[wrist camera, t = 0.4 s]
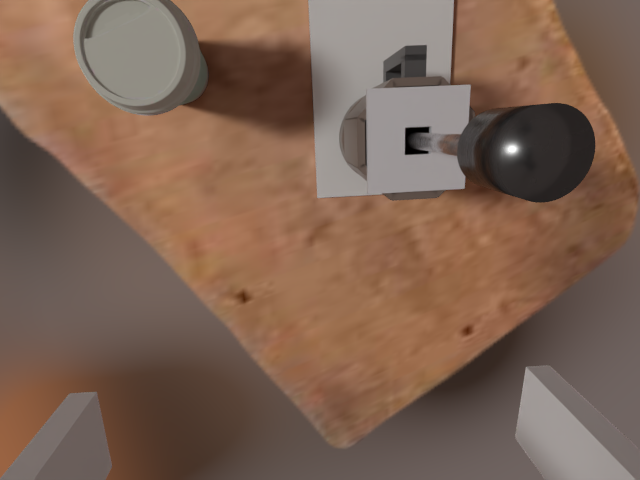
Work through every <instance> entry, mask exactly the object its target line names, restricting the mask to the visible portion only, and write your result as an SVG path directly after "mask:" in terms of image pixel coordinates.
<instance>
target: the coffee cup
mask: <svg viewBox="0 0 640 480" xmlns="http://www.w3.org/2000/svg"><path fill="white" fill-rule="evenodd" d="M74 50H75V54H76V58H77V61H78V64H79V66H80V68H81V70H82V72H83V73H84V75H85V77H86V78H87V80H88V82H89V83H90V84H91V86H92V87H93V88H94V89H95V90H96V92H97V93H98V94H99V95H101V96H102V97H103V98H104V99H105V100H107V101H108V102H110V103H111V104H113V105H114V106H116V107H118V108H120V109H122V110H124V111H127V112H130V113H133V114H138V115H158V114H162V113H165V112H168V111H170V110H172V109H174V108H176V107H177V106H179V105H183V104H186V103H190V102H192V101H194V100H196V99H197V98H199V97H200V96H201V95H202V94H203V92H204V91H205V89H206V86H207V83H208V77H209V73H208V67H207V63H206V61H205V59H204V57H203V55H202V53H201V51H200V48H199V43H198V40H197V36H196V34H195V31H194V29H193V27H192V25H191V23H190V22H189V20H188V19H187V17H186V16H185V15H184V13H183V12H182V11H181V10H180V9H179V8H178V7H177V6H176V5H175V4H174V3H173V2H171V1H170V0H89V1H88V2H87V3H86V4H85V5H84V7H83V8H82V9H81V11H80V13H79V15H78V17H77V20H76V23H75V28H74Z"/></svg>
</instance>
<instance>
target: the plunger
mask: <svg viewBox="0 0 640 480" xmlns="http://www.w3.org/2000/svg"><path fill="white" fill-rule="evenodd" d="M406 142H407V145H408V146H409V147H410V148H413V149H419V150H425V151H431V152H437V153H443V154H448V155H454V156H457V159H458V164H459V167H460V169H461V171H462V172H463V174H464V175H465V177H466V178H467V179H469V180H470V181H471V182H473V183H474V184H476V185H479V186H482V187H485V188H489V189H492V190H495V191H499V192H502V193H505V194H508V195H512V196H515V197H518V198H521V199H525V200H528V201H531V202H549V201H553V200H556V199H559V198H561V197H563V196H565V195H567V194H568V193H570V192H571V191H572V190H573V189H575V188H576V187H577V186H578V185H579V184H580V183H581V181H582V180H583V179H584V177H585V176H586V174H587V173H588V171H589V169H590V167H591V164H592V161H593V158H594V153H595V136H594V132H593V129H592V126H591V124H590V122H589V121H588V119H587V118H586V116H585V115H584V114H583V113H582V112H580V111H579V110H578V109H576V108H574V107H572V106H569V105H567V104H561V103H551V104H540V105H529V106H518V107H508V108H497V109H491V110H487V111H485V112H482V113H480V114H479V115H477V116H476V117H474V118H473V119H472V120H471V121H470V122H469V123H468V124H467V126H466V127H465V128H464V130H463V132H462V134H441V133H416V132H414V133H411V134H409V135H408V137H407V140H406Z"/></svg>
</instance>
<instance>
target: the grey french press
mask: <svg viewBox="0 0 640 480" xmlns="http://www.w3.org/2000/svg"><path fill="white" fill-rule="evenodd" d="M426 60H427V45H412V46H404V47H403V48H401V49H400V50H399V51H397V52H396V53H394V54H393V55H392V56H390V57H389V58H387V59H386V60H384V61H383V83H382V84H380V85H378V86H376V87H373V88H371V89H366V95H365V96H363V97H362V98H360V99H359V100H357V101H356V102H355V103H354V104H353V105H352V106H351V107H350V108H349V110H348V111H347V113H346V114H345V116H344V118H343V120H342V123H341V127H340V132H339V143H340V149H341V152H342V155H343V157H344V159H345V161H346V162H347V164H348V165H349V166H350V168H351V169H352V170H353V171H355V172H356V173H357V174H359V175H360V176H361V177H363V178H364V179H365V180H366V181H367V193H368V194H379V193H382V194H383V195H385V196H386V197H387V198H389V199H390V200H410V199H427V198H437V197H439V196H440V195H441V194H442V193H443V192H444V191H445V190H451V189H465V175H464V174H463V172H462V171H461V169H460V167H459V164H458V159H457V156H454V155H448V154H443V153H437V152H431V151H425V150H419V149H413V148H410V147H409V146H408V145H407V142H406V140H407V137H408V135H409V134H411V133H414V132H416V133H441V134H462V132H463V130H464V128H465V127H466V126H467V124H468V123H469V122H470V121H471V120H472V119H473V118H474V117H475V113H474V110H473V109H472V108H471V107H470V89H471V85H450V84H449V83H448V82H447V81H446V79H445V78H444V77H442V76H433V77H426Z"/></svg>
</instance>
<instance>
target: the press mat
mask: <svg viewBox="0 0 640 480" xmlns="http://www.w3.org/2000/svg"><path fill="white" fill-rule="evenodd" d="M308 4H309V26H310V48H311V70H312V91H313V113H314V135H315V157H316V179H317V198H326V197H344V196H362V195H380V194H382V193H379V194H368V193H367V181H366V180H365V179H364V178H363V177H361V176H360V175H359V174H357V173H356V172H355V171H353V170H352V169H351V168H350V166H349V165H348V164H347V162H346V161H345V159H344V157H343V155H342V152H341V149H340V143H339V132H340V127H341V123H342V120H343V118H344V116H345V114H346V113H347V111H348V110H349V108H350V107H351V106H352V105H353V104H354V103H355V102H356V101H357V100H359V99H360V98H362V97H363V96H365V95H366V89H371V88H373V87H376V86H378V85H380V84H382V83H383V61H384V60H386V59H387V58H389V57H390V56H392V55H393V54H394V53H396V52H397V51H399V50H400V49H401V48H403V47H404V46H412V45H427V60H426V77H433V76H442V77H444V78H445V79H446V81H447V82H448V83H449V84H450V77H451V55H452V33H453V10H454V0H308Z"/></svg>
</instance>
